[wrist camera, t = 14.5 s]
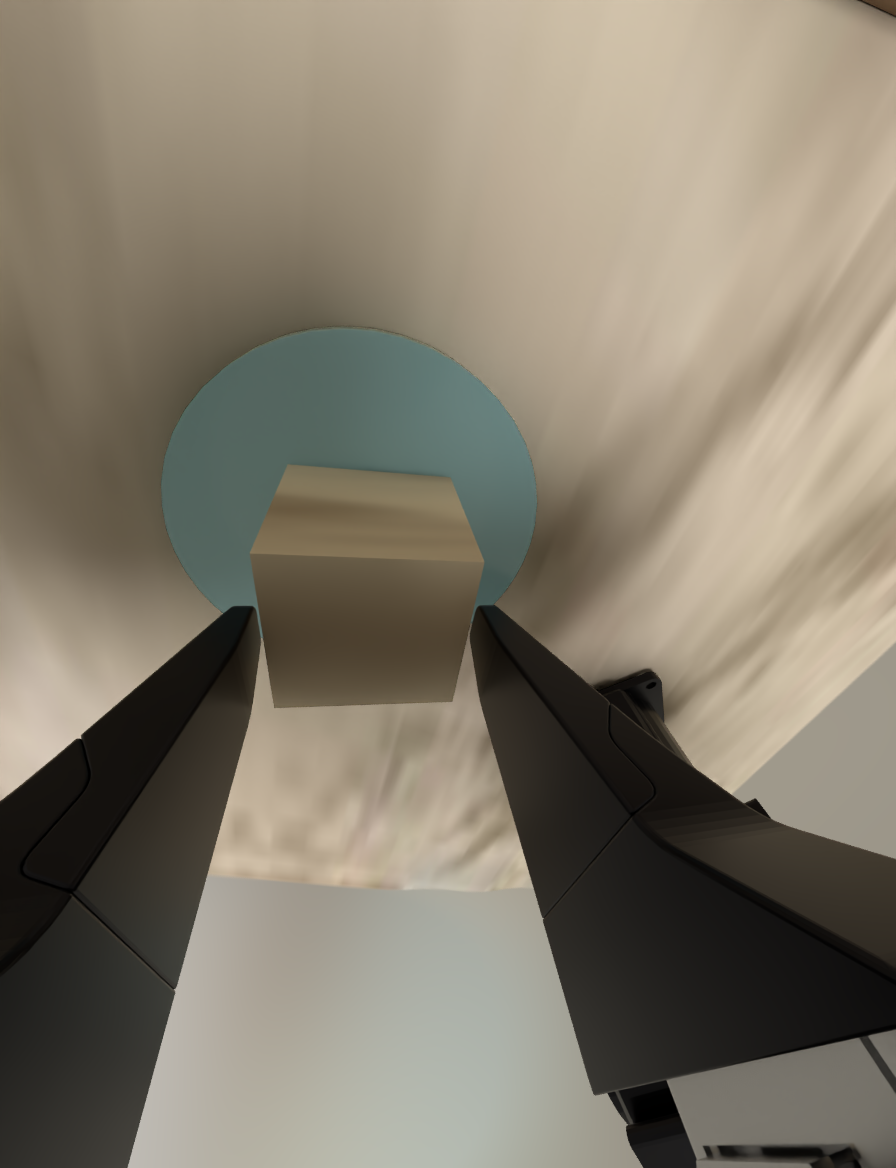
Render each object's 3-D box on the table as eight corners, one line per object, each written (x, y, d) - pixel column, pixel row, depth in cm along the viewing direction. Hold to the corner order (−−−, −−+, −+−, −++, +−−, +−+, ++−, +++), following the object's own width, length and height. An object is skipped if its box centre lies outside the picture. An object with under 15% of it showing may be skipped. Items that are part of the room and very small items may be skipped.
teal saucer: (556, 576, 15) (565, 590, 14) (312, 678, 16) (310, 695, 15) (464, 241, 9) (472, 239, 8) (70, 441, 10) (51, 452, 9)
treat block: (432, 597, 13) (452, 701, 10) (298, 595, 12) (274, 707, 9) (450, 477, 11) (485, 562, 8) (287, 464, 10) (249, 553, 7)
